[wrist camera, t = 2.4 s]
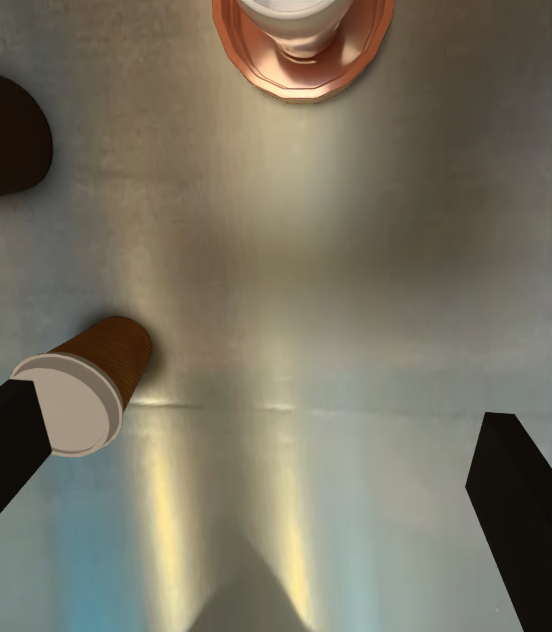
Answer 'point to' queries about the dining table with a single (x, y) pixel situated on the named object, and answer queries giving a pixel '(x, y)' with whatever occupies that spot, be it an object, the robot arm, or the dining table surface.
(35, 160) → the olive oil
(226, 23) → the pot
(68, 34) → the dining table surface
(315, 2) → the drinking glass
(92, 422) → the disposable coffee cup
